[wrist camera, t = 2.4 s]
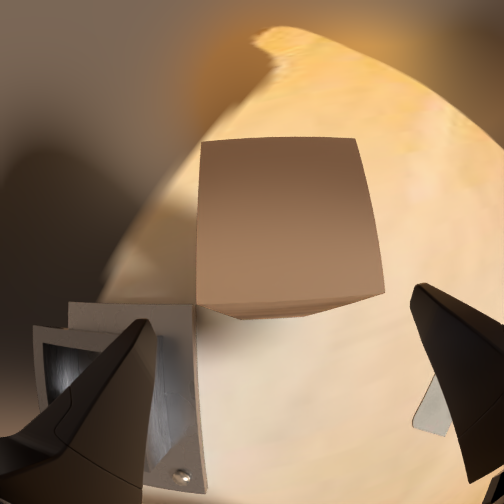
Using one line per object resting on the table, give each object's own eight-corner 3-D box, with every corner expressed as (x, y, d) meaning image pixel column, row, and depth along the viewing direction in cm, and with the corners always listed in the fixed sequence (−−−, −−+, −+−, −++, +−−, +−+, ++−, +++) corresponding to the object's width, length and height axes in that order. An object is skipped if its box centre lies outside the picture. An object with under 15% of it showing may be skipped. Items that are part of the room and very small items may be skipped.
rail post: (303, 316, 18) (385, 292, 5) (241, 319, 18) (196, 304, 6) (299, 256, 19) (355, 138, 7) (239, 259, 19) (201, 142, 7)
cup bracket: (207, 487, 14) (193, 524, 9) (92, 464, 14) (59, 485, 10) (195, 305, 18) (171, 297, 13) (75, 303, 18) (33, 293, 13)
